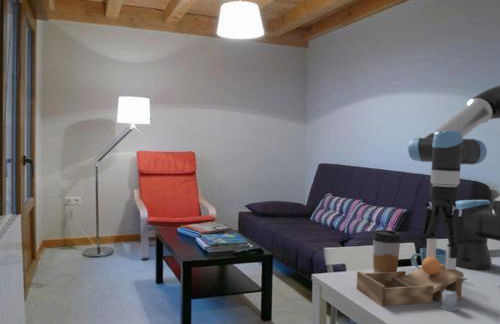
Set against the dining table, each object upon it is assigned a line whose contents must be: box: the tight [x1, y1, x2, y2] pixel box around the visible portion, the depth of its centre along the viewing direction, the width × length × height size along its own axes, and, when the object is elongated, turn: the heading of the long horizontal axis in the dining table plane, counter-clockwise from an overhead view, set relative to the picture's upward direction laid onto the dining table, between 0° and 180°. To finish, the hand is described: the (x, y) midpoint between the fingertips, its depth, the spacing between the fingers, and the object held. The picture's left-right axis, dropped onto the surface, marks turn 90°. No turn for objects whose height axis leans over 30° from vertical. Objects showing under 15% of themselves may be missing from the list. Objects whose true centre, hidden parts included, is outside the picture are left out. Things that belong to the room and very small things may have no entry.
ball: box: [421, 257, 442, 275], centre depth 124 cm, size 5×5×5 cm
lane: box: [356, 262, 465, 307], centre depth 122 cm, size 26×13×8 cm, turn 104°
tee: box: [440, 290, 458, 312], centre depth 113 cm, size 4×4×4 cm
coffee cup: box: [372, 229, 402, 273], centre depth 133 cm, size 8×8×15 cm
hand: (440, 264), depth 125 cm, fingers open, 8 cm apart
